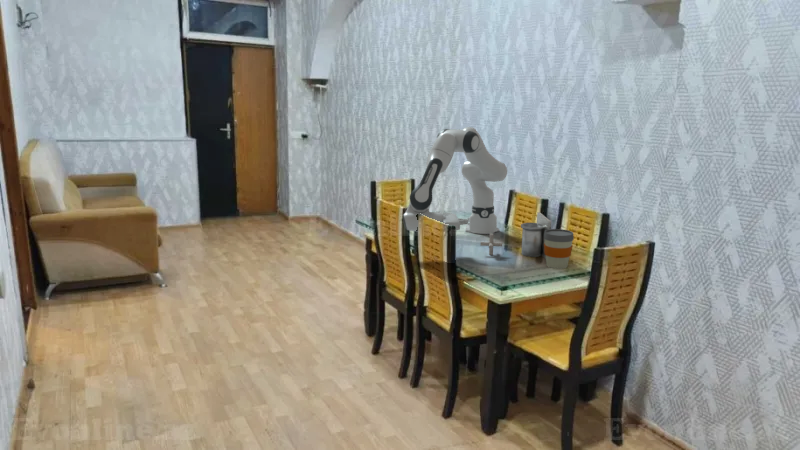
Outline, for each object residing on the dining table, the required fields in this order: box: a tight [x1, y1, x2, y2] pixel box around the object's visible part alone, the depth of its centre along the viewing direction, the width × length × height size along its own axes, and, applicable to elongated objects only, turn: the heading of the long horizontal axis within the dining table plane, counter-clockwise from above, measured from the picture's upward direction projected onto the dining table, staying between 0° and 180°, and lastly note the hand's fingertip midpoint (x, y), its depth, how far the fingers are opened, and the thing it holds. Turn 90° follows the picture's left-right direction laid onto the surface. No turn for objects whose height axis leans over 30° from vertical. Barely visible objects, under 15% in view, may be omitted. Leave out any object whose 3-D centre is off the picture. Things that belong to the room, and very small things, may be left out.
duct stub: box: [520, 211, 552, 260], centre depth 260 cm, size 20×11×18 cm, turn 1°
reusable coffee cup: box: [544, 228, 575, 270], centre depth 242 cm, size 12×13×15 cm
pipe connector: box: [479, 233, 503, 256], centre depth 260 cm, size 10×10×10 cm
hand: (467, 221), depth 258 cm, fingers closed
